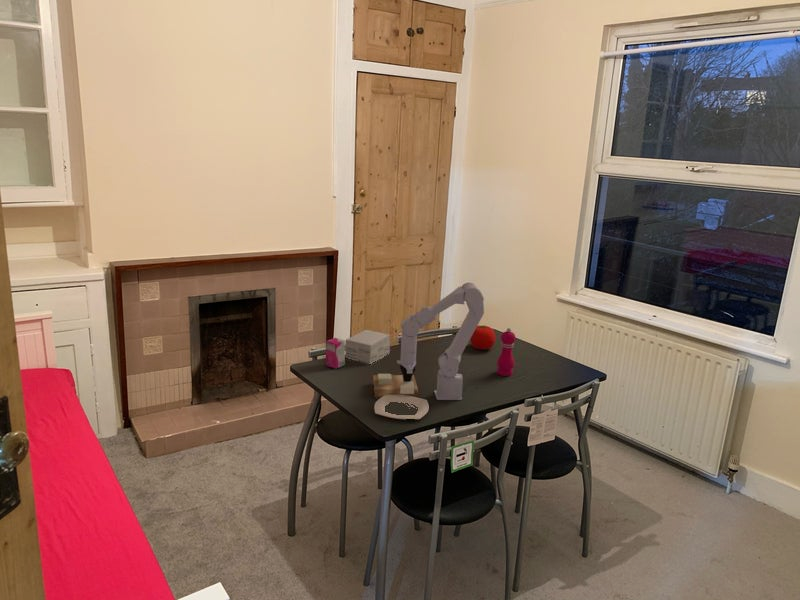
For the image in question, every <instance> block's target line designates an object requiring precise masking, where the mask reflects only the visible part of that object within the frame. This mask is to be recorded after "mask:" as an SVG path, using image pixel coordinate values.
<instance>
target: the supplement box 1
mask: <svg viewBox="0 0 800 600" xmlns="http://www.w3.org/2000/svg"><path fill="white" fill-rule="evenodd" d="M345 344H346V339H345V340H344V339H341V338H337V337H334V338H331V339H328V340H326V341H325V354H326V355H325V356H326V357H325V358H326V359H325V363H326V364H325V365H326V366H325V367H327V366H329V367H328V368H330V367H332V368H331V369H333V368H335V369H336V368H339V367H341V366H344V365H345V366H346V359H345ZM345 366H344V367H345ZM341 368H342V367H341ZM335 369H334V370H335ZM339 369H340V368H339ZM336 370H337V369H336Z"/></svg>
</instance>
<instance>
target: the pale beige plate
mask: <svg viewBox="0 0 800 600" xmlns="http://www.w3.org/2000/svg"><path fill="white" fill-rule="evenodd" d="M390 402H398V403H401V402H402V403H404V404H405V403H408V404H409V405H410V406H411V407H413V408H415V407H414V406H413V405H415V406H416V407H418V411H417V413H416V414H415V415H396V414H391V413H388V412H385V406H386V405H388V404H389V403H390ZM411 404H413V405H411ZM406 405H407V404H406ZM407 406H408V405H407ZM410 406H408V407H410ZM373 408H374V414H376V415H379V416H382V417H386V418H392V419H398V420H406V419H415V420H420V419H422V418H424V416H425V415H426V414H427V413H428V412H429V409H430V406H429V402H428V400H427V399H425V398H420V397H418V398H417V397H413V396H407V395H384V396H383V397H381V398H378V400H377V401H375V403H374V407H373ZM409 409H410V408H409ZM416 409H417V408H416Z"/></svg>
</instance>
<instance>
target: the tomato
mask: <svg viewBox="0 0 800 600" xmlns="http://www.w3.org/2000/svg"><path fill="white" fill-rule="evenodd" d="M469 342H470V344H471V346H472V347H473V348H475V349H476V350H477V349H478V350H489V349H491V348H493V347H494V345H495V343H496V333H495V331H494V330H493V328H492V327H490V326H487V325H479V324H478V325H477V327H476V329H475V331H474V333H473V334H472V336H471V338H470V340H469Z"/></svg>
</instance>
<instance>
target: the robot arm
mask: <svg viewBox="0 0 800 600" xmlns="http://www.w3.org/2000/svg"><path fill="white" fill-rule="evenodd" d="M484 301H485V298H484V295H483V293H482V292H481V290H480V289H478V288H477V286H476V285H475V284H474V283H473V282H465V283H464V284H462V285H461V286H458V287H456V288H455V289H454V290H453V291H451V292H450V293H449V294H448V295H446V296H445V297H443V298H442V299H441V300H439V301H438V302H437V303H436V304H434V305H432V306H427V305H426V306H422V307H420V310H419V311H418V312H415V313H414V314H411V315H409V317H406V318H404V319H402V322H401V324H400V327H401V329H402V333H401V338H400V340H401V342H400V359H397V360H396V364H398V365H399V368H400V372H401V373H402V374H401V375H403V381H409V382H411V378H412V375H414V373H415V371H416V368H417V367H416V365H417V347H418V343H417V342H418V338H417V337H418V336H417V335H418V333H419V332H420V330H421V329H423V328H425V327H426V326H428V325H429V324H430V323H432V322H434V321H435V320H436V319H437V316H438V314H441V313H442V312H443V311H445V310H447V309H449V308H450V307H453V306H454V305H465V304H466V306H467V309H468V313H467V314H466V316H465V318H464V319H463V321H462V323H461V325H460V327H459V329H458V331H457V333H456V335H455V336H454V338H453V340H452V342H451V343H450V346H449V347H448V348H446V349H445V351H444V353H442V354H441V355H439V357H438V359H437V363H438V366H439V370H437V376H436V377H437V379H436V380H437V381H436V390H434V391H433V392H434V395H435V399H436V400H438V401H462V400H463V397H462V396H463V387H464V386H463V385H464V384H463V383H464V382H463V381H464V379H463V374H461V373H458V372H459V366H460V363H461V359H462V355H463V352H464V351H465V349H466V347H467V345H468V344H469V342H470V338H471V336H472V334H473V333H474V331H475V329H476V327H477V326H478V325H479V324H480V322H481V320H482V318H483V316H484V313H485V308H484V307H485V306H484ZM465 302H466V303H465Z"/></svg>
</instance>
